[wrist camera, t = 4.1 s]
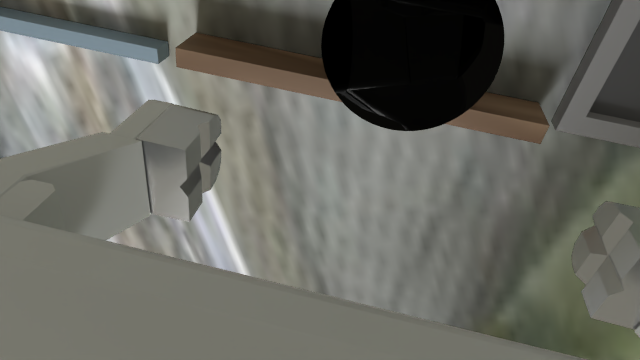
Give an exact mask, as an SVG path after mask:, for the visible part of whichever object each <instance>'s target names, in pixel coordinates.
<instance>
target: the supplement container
mask: <svg viewBox="0 0 640 360" xmlns="http://www.w3.org/2000/svg"><path fill="white" fill-rule="evenodd" d="M503 48H504V27H503V21H502V16H501V13H500V10H499V7H498V5H497V3H496V0H334V2H333V4H332V6H331V8H330V10H329V12H328V15H327V17H326V20H325V24H324V28H323V33H322V44H321V49H322V60H323V65H324V69H325V73H326V75H327V78H328V81H329V83H330V85H331V87H332V88H333V90H334V92H335V93H336V95H337V96H338V97H339V99H340V100H341V101H342V102H343V103H344V104H345V105H346V106H347V107H348V108H349V109H350V110H351V111H352V112H353V113H355V114H356V115H358V116H359V117H361V118H362V119H364V120H366V121H368V122H370V123H372V124H374V125H377V126H380V127H383V128H387V129H392V130H400V131H417V130H424V129H429V128H433V127H437V126H440V125H442V124H445V123H448V122H450V121H452V120H454V119H455V118H457V117H459V116H460V115H462V114H463V113H465V112H466V111H467V110H469V109H470V108H471V107H472V106H473V105H474V104H476V103H477V102H478V101H479V99H480V98H481V97H482V96H483V95H484V94H485V92H486V91H487V90H488V88H489V87H490V85H491V83H492V82H493V80H494V78H495V76H496V74H497V71H498V69H499V66H500V63H501V59H502V55H503Z"/></svg>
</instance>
